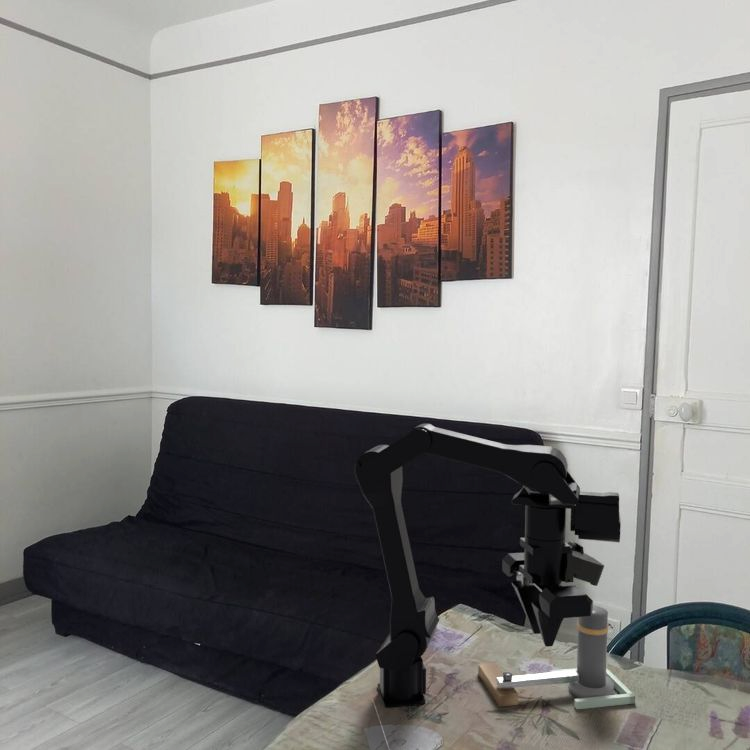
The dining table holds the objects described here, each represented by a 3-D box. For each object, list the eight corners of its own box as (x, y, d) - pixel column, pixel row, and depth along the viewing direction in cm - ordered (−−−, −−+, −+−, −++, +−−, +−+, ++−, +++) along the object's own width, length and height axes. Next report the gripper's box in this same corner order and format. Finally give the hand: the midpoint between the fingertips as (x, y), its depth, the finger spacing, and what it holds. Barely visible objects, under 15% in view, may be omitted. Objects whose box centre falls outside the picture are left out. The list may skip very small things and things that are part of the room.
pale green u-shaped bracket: (576, 709, 106) (576, 701, 106) (549, 677, 116) (549, 670, 115) (634, 703, 108) (635, 695, 108) (603, 672, 117) (604, 665, 117)
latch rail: (499, 706, 107) (499, 695, 107) (478, 674, 117) (478, 664, 117) (518, 704, 107) (518, 694, 107) (495, 672, 117) (495, 662, 117)
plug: (580, 703, 108) (583, 621, 107) (561, 681, 114) (563, 603, 113) (621, 699, 109) (624, 618, 108) (600, 677, 116) (602, 600, 115)
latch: (500, 689, 108) (500, 677, 108) (496, 683, 110) (496, 672, 109) (578, 681, 110) (579, 670, 110) (574, 676, 112) (574, 665, 112)
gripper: (630, 553, 94) (627, 665, 95) (568, 514, 112) (565, 609, 113) (552, 558, 92) (549, 672, 93) (501, 518, 110) (500, 614, 112)
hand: (542, 639), depth 103 cm, fingers open, 4 cm apart
